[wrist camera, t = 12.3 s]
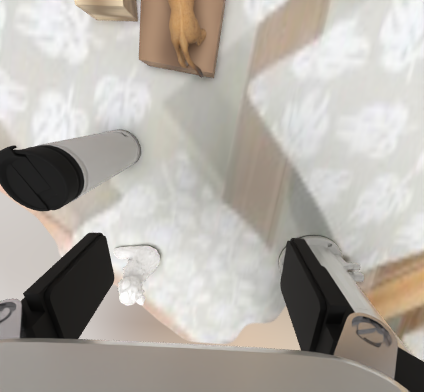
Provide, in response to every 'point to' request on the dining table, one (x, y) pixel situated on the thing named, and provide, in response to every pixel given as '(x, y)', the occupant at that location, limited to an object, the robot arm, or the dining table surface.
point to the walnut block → (161, 38)
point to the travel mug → (65, 168)
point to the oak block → (110, 9)
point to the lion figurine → (185, 31)
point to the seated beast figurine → (136, 271)
